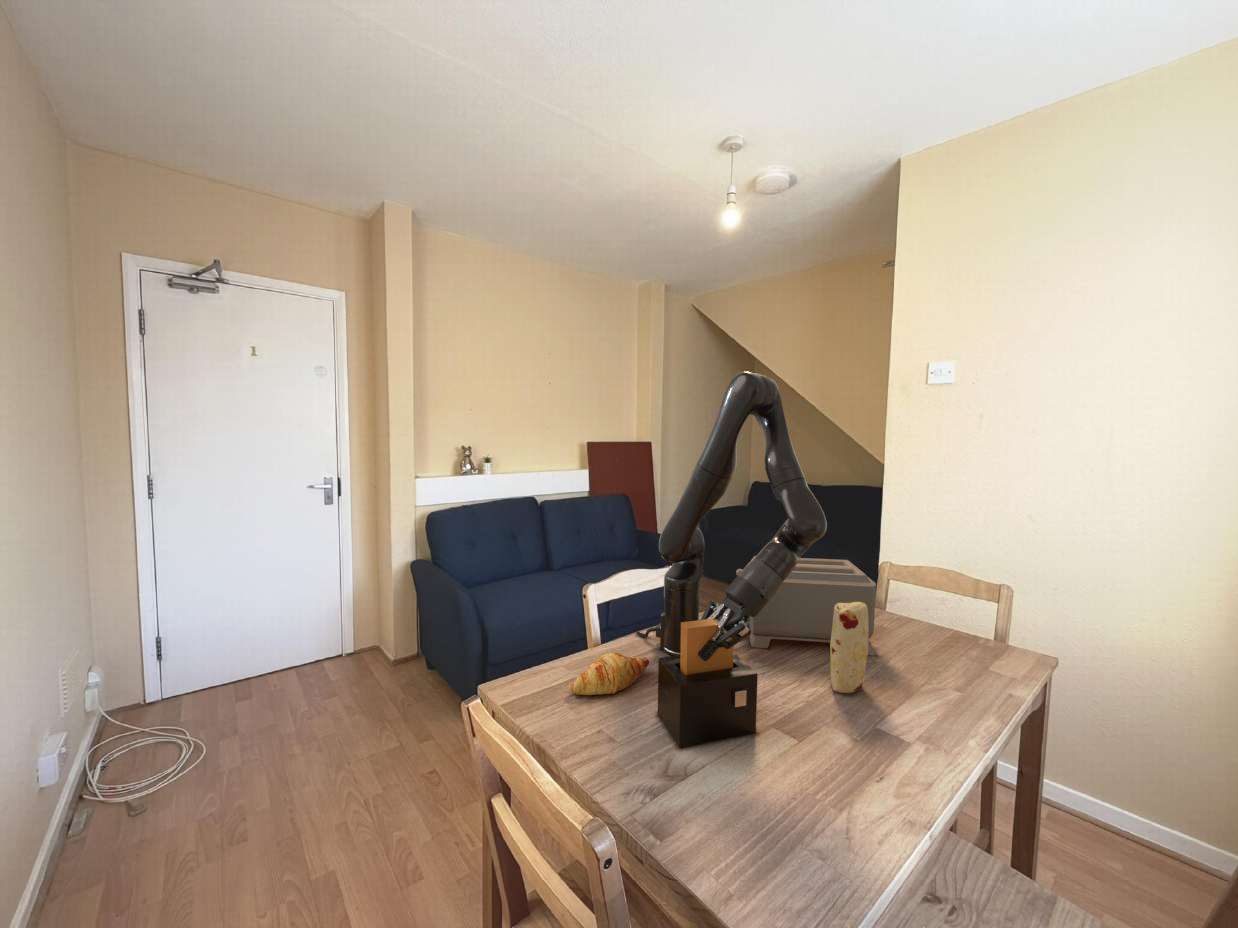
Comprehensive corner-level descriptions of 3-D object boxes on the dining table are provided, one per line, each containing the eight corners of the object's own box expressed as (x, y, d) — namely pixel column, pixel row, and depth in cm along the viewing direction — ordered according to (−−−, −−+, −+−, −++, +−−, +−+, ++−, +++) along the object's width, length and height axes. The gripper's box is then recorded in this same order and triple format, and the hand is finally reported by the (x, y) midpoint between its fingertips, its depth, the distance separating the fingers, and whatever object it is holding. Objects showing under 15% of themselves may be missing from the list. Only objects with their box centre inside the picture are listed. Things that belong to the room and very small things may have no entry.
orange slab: (680, 671, 95) (680, 622, 95) (725, 664, 98) (726, 616, 98) (686, 679, 93) (687, 628, 92) (733, 671, 96) (734, 622, 95)
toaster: (731, 618, 149) (733, 553, 148) (851, 625, 145) (854, 558, 143) (737, 646, 130) (740, 571, 129) (876, 655, 125) (880, 578, 124)
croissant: (576, 718, 103) (584, 695, 99) (556, 679, 110) (563, 656, 106) (654, 686, 115) (664, 664, 111) (631, 653, 122) (640, 631, 118)
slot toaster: (657, 714, 99) (658, 657, 98) (727, 701, 104) (728, 647, 103) (681, 751, 88) (682, 687, 87) (758, 735, 93) (760, 675, 92)
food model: (846, 701, 104) (851, 611, 103) (820, 687, 110) (823, 601, 108) (873, 689, 109) (878, 603, 108) (846, 676, 115) (850, 594, 113)
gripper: (724, 565, 103) (670, 627, 100) (762, 586, 89) (701, 659, 87) (746, 587, 105) (693, 649, 102) (786, 611, 91) (727, 683, 89)
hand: (697, 653), depth 95 cm, fingers closed on orange slab, 3 cm apart
